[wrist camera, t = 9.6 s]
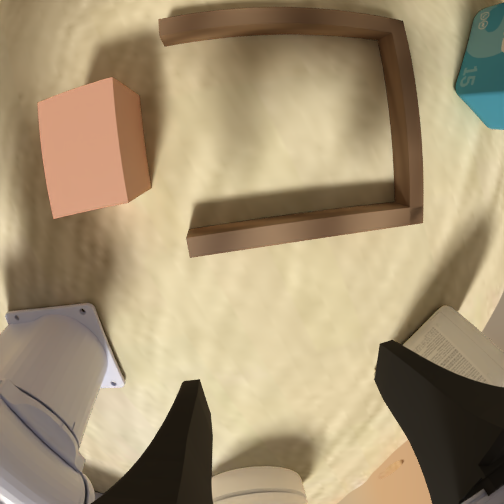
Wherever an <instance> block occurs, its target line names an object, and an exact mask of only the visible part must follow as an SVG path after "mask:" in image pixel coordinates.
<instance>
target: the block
mask: <svg viewBox="0 0 504 504" xmlns="http://www.w3.org/2000/svg"><path fill="white" fill-rule="evenodd" d="M38 119H39V131H40V141H41V150H42V158H43V165H44V172H45V178H46V184H47V190H48V195H49V200H50V205H51V210H52V215H53V219H56V218H60V217H64V216H68V215H73V214H77V213H82V212H86V211H91V210H95V209H100V208H105V207H110V206H114V205H119V204H124V203H129V202H130V201H132V200H133V199H135V198H136V197H138V196H140V195H141V194H143V193H144V192H146V191H148V190H149V189H151V182H150V176H149V169H148V162H147V155H146V148H145V141H144V133H143V125H142V116H141V107H140V97H139V95H138V94H137V93H135V92H134V91H132V90H131V89H129V88H128V87H127V86H125V85H124V84H122V83H121V82H119V81H118V80H116V79H115V78H113V77H110V78H106V79H103V80H100V81H96V82H93V83H90V84H87V85H84V86H81V87H78V88H75V89H72V90H69V91H66V92H63V93H61V94H58V95H55V96H53V97H50V98H48V99H45V100H43V101H40V102H38Z"/></svg>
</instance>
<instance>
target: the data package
mask: <svg viewBox="0 0 504 504" xmlns="http://www.w3.org/2000/svg"><path fill="white" fill-rule="evenodd" d="M455 88H456V93H457V94H458V96H459V97H460V98H461V99H462V100H463V101H464V102H465V103H466V104H467V105H468V106H469V107H470V108H471V109H472V110H473V112H474V113H475V114H476V115H477V116H478V117H479V118H480V119H481V121H482V122H483V123H484V124H485V125H486V126H487V127H488V128H490V129H499V130H504V3H501V4H497V5H494V6H491V7H487V8H484V9H482V10H481V11H480V12H478V13H477V15H476V16H475V18H474V20H473V25H472V29H471V33H470V37H469V41H468V45H467V48H466V52H465V55H464V59H463V62H462V66H461V69H460V72H459V76H458V79H457V82H456V87H455Z"/></svg>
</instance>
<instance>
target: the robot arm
mask: <svg viewBox="0 0 504 504" xmlns="http://www.w3.org/2000/svg"><path fill="white" fill-rule="evenodd" d="M81 309H84V310H85V312H83V311H82V310H81ZM17 316H18V317H19V318H18V317H17ZM5 317H6V320H7V322H8V324H9V325H8V326H7V327H6V328H5V329H4V330H3V331H2V333H1V334H0V504H213V498H212V482H211V481H212V442H213V434H212V423H211V413H210V410H209V407H208V404H207V401H206V398H205V395H204V392H203V388H202V385H201V382H200V379H199V380H190V381H184V382H183V383H182V385H181V387H180V390H179V392H178V394H177V397H176V399H175V401H174V403H173V405H172V407H171V409H170V411H169V413H168V415H167V417H166V419H165V420H164V422H163V424H162V426H161V427H160V429H159V431H158V432H157V434H156V436H155V437H154V439H153V440H152V442H151V443H150V445H149V446H148V448H147V449H146V450H145V452H144V453H143V454H142V456H141V457H140V458H139V459H138V461H137V462H136V463H135V464H134V465H133V466H132V467H131V469H130V470H129V471H128V472H127V473H126V474H125V475H124V476H123V477H122V478H121V479H120V480H119V481H118V482H117V483H116V484H114V485H113V486H112V487H111V488H110V489H109V490H108V491H107V492H105V493H104V494H103V495H102V496H100V497H99V498H98V499H96V500H95V494H94V489H93V486H92V484H91V482H90V480H89V479H88V477H87V476H86V475H85V474H83V473H82V471H83V467H84V464H85V460H86V459H85V458H84V457H83V456H82V455H81V454H80V452H79V447H80V444H81V441H82V438H83V435H84V432H85V429H86V426H87V423H88V420H89V417H90V414H91V412H92V409H93V406H94V403H95V401H96V398H97V395H98V392H99V390H100V388H120V387H124V385H125V380H124V377H123V375H122V373H121V371H120V369H119V366H118V364H117V362H116V360H115V357H114V355H113V353H112V350H111V348H110V345H109V343H108V340H107V338H106V335H105V333H104V330H103V328H102V325H101V323H100V320H99V317H98V314H97V312H96V309H95V307H94V306H93V305H92V304H91V303H82V304H74V305H65V306H56V307H47V308H37V309H27V310H17V311H9V312H7V313H6V315H5ZM374 380H375V382H376V385H377V387H378V389H379V391H380V394H381V396H382V398H383V400H384V401H385V403H386V405H387V406H388V408H389V409H390V411H391V413H392V414H393V416H394V417H395V419H396V420H397V422H398V424H399V425H400V427H401V428H402V430H403V431H404V433H405V435H406V436H407V438H408V440H409V442H410V444H411V446H412V448H413V450H414V453H415V455H416V457H417V459H418V462H419V464H420V467H421V469H422V472H423V475H424V477H425V481H426V484H427V487H428V490H429V493H430V496H431V500H432V504H504V387H499V386H494V385H490V384H486V383H482V382H478V381H475V380H472V379H469V378H466V377H464V376H461V375H458V374H456V373H454V372H452V371H449V370H447V369H445V368H443V367H441V366H439V365H437V364H435V363H433V362H431V361H429V360H427V359H426V358H424V357H422V356H420V355H418V354H417V353H415V352H413V351H411V350H410V349H408V348H406V347H404V346H403V345H401V344H399V343H397V342H395V341H393V340H391V341H388V342H384V343H381V344H380V346H379V353H378V360H377V366H376V373H375V379H374ZM112 381H113V382H112ZM114 382H115V383H114Z"/></svg>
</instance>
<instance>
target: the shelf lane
mask: <svg viewBox="0 0 504 504" xmlns="http://www.w3.org/2000/svg"><path fill="white" fill-rule="evenodd" d="M158 20H159V35H160V38H161V40H162V42H163V44H164V46H171V45H176V44H182V43H188V42H194V41H201V40H209V39H217V38H226V37H237V36H252V35H276V34H304V35H328V36H342V37H353V38H363V39H371V40H378V43H379V48H380V53H381V59H382V64H383V70H384V76H385V83H386V90H387V97H388V105H389V114H390V124H391V134H392V147H393V163H394V189H395V202H390V203H381V204H372V205H363V206H355V207H346V208H338V209H329V210H321V211H313V212H306V213H298V214H290V215H283V216H276V217H268V218H261V219H254V220H247V221H240V222H233V223H227V224H220V225H213V226H207V227H201V228H194V229H189V231H188V234H187V237H186V239H187V245H188V250H189V255H190V258H192V257H198V256H205V255H212V254H218V253H225V252H231V251H238V250H245V249H251V248H258V247H264V246H271V245H278V244H284V243H291V242H298V241H304V240H311V239H318V238H325V237H331V236H338V235H345V234H352V233H358V232H365V231H372V230H379V229H386V228H392V227H399V226H406V225H413V224H420V223H423V156H422V139H421V127H420V116H419V107H418V99H417V91H416V85H415V78H414V72H413V66H412V61H411V55H410V50H409V45H408V41H407V36H406V32H405V28H404V24H403V21H401V20H396V19H391V18H386V17H381V16H376V15H370V14H363V13H356V12H348V11H340V10H330V9H317V8H297V7H259V8H239V9H226V10H216V11H207V12H199V13H192V14H186V15H180V16H174V17H168V18H163V19H158Z"/></svg>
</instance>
